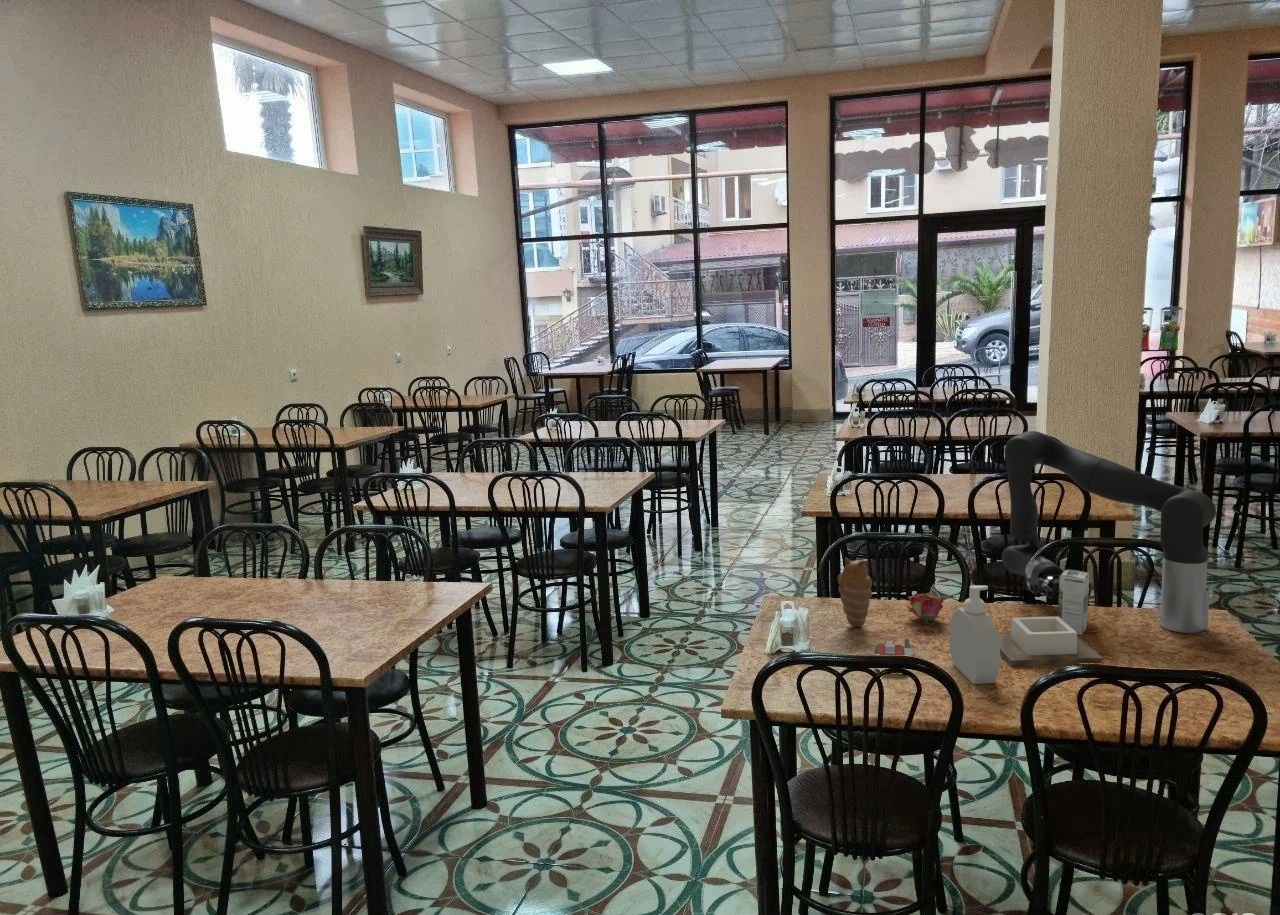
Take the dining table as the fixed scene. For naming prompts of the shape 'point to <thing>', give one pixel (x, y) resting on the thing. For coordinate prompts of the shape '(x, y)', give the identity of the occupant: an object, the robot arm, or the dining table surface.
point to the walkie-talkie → (893, 649)
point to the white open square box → (1043, 636)
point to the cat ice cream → (855, 591)
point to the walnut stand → (1020, 658)
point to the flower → (925, 606)
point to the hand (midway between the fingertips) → (1070, 594)
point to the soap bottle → (975, 640)
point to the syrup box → (1074, 599)
